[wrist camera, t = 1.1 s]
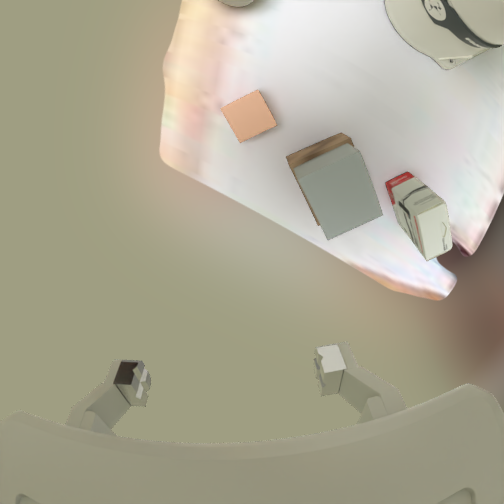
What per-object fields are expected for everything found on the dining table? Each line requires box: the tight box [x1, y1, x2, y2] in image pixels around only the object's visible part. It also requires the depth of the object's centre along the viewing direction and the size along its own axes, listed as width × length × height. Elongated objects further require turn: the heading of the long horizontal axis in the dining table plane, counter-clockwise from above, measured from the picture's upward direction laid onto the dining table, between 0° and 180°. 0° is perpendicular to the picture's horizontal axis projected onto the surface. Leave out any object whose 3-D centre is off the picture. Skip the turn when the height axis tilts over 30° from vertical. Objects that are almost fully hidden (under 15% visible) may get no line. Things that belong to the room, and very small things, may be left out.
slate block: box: [293, 143, 383, 240], centre depth 33 cm, size 8×9×5 cm
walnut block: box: [286, 133, 354, 226], centre depth 37 cm, size 9×10×5 cm
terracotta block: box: [221, 90, 277, 143], centre depth 32 cm, size 5×5×6 cm
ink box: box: [385, 172, 452, 261], centre depth 35 cm, size 8×5×12 cm, turn 31°
